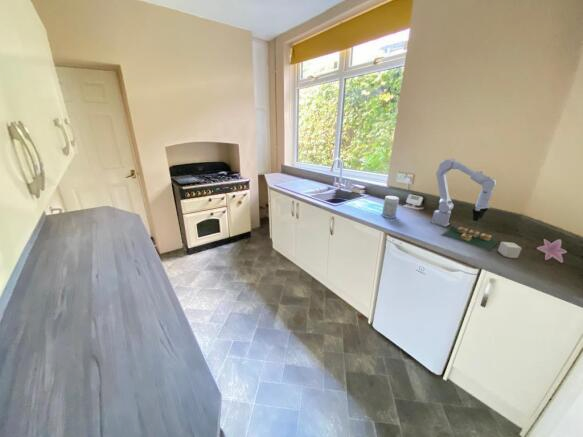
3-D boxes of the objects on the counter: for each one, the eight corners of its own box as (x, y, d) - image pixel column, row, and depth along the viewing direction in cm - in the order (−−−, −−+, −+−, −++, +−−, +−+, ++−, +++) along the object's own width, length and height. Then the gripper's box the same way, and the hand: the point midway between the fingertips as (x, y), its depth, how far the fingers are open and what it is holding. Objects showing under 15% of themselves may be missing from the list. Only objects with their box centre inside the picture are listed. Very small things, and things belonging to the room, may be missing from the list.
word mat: (441, 235, 145) (441, 235, 145) (453, 228, 157) (453, 227, 157) (489, 251, 128) (489, 250, 128) (498, 241, 140) (499, 240, 140)
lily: (527, 256, 126) (541, 246, 118) (531, 242, 131) (546, 232, 124) (554, 270, 121) (571, 261, 113) (558, 255, 126) (574, 245, 119)
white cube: (509, 252, 127) (514, 242, 125) (517, 258, 122) (521, 248, 119) (497, 251, 128) (501, 241, 126) (504, 256, 123) (508, 246, 120)
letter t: (467, 234, 146) (469, 231, 145) (470, 233, 149) (471, 229, 148) (476, 237, 143) (477, 233, 142) (478, 235, 146) (479, 232, 145)
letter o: (460, 238, 141) (461, 234, 140) (462, 236, 144) (464, 233, 143) (468, 241, 138) (470, 237, 137) (471, 239, 141) (472, 235, 140)
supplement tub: (382, 213, 181) (386, 194, 176) (395, 215, 177) (399, 196, 172) (381, 217, 173) (384, 198, 168) (394, 219, 169) (398, 200, 164)
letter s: (479, 238, 142) (480, 234, 141) (481, 236, 145) (482, 232, 144) (488, 241, 139) (489, 237, 138) (490, 239, 141) (491, 235, 140)
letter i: (456, 231, 151) (458, 228, 150) (459, 230, 153) (460, 226, 152) (464, 234, 148) (466, 230, 147) (467, 232, 150) (468, 228, 149)
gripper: (488, 202, 135) (481, 224, 140) (495, 198, 143) (488, 218, 148) (474, 199, 140) (467, 220, 145) (481, 195, 149) (475, 215, 154)
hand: (477, 219), depth 147 cm, fingers open, 7 cm apart
